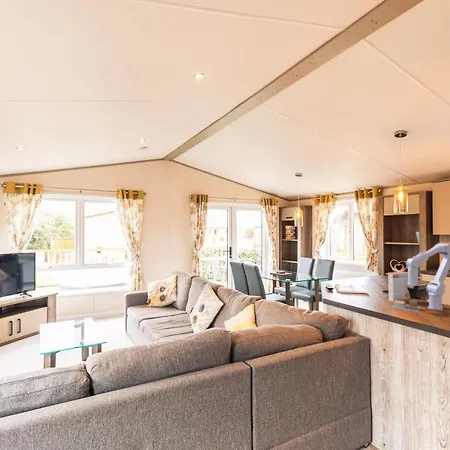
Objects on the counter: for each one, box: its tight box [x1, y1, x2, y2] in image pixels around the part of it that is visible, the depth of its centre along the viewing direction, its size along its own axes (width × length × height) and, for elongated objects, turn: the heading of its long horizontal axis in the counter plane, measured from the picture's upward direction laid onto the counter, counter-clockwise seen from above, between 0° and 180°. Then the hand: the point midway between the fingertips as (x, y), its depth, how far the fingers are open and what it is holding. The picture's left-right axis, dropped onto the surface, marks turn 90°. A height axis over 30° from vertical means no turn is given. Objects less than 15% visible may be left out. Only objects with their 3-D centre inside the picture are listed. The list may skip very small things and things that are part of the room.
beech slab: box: [393, 301, 406, 308], centre depth 226 cm, size 6×6×3 cm
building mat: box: [390, 304, 422, 313], centre depth 223 cm, size 14×16×1 cm
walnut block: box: [408, 300, 418, 310], centre depth 219 cm, size 4×4×5 cm
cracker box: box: [387, 271, 412, 303], centre depth 242 cm, size 14×6×21 cm, turn 100°
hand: (413, 297), depth 219 cm, fingers open, 7 cm apart
